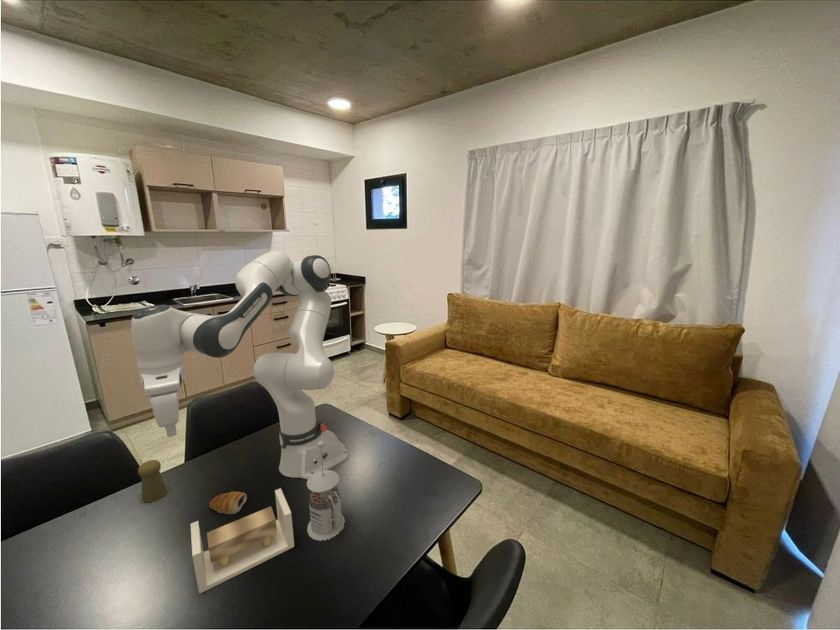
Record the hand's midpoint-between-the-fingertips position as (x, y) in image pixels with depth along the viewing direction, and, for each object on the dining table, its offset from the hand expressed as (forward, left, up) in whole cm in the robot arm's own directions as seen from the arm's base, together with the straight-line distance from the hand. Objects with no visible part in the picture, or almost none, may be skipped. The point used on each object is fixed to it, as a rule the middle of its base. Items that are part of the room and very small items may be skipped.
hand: (172, 426), depth 84 cm
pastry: (-10, -1, -30) cm, 31 cm away
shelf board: (-11, +18, -25) cm, 33 cm away
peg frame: (-11, +18, -29) cm, 36 cm away
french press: (-30, +22, -29) cm, 47 cm away
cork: (+8, -18, -29) cm, 35 cm away
